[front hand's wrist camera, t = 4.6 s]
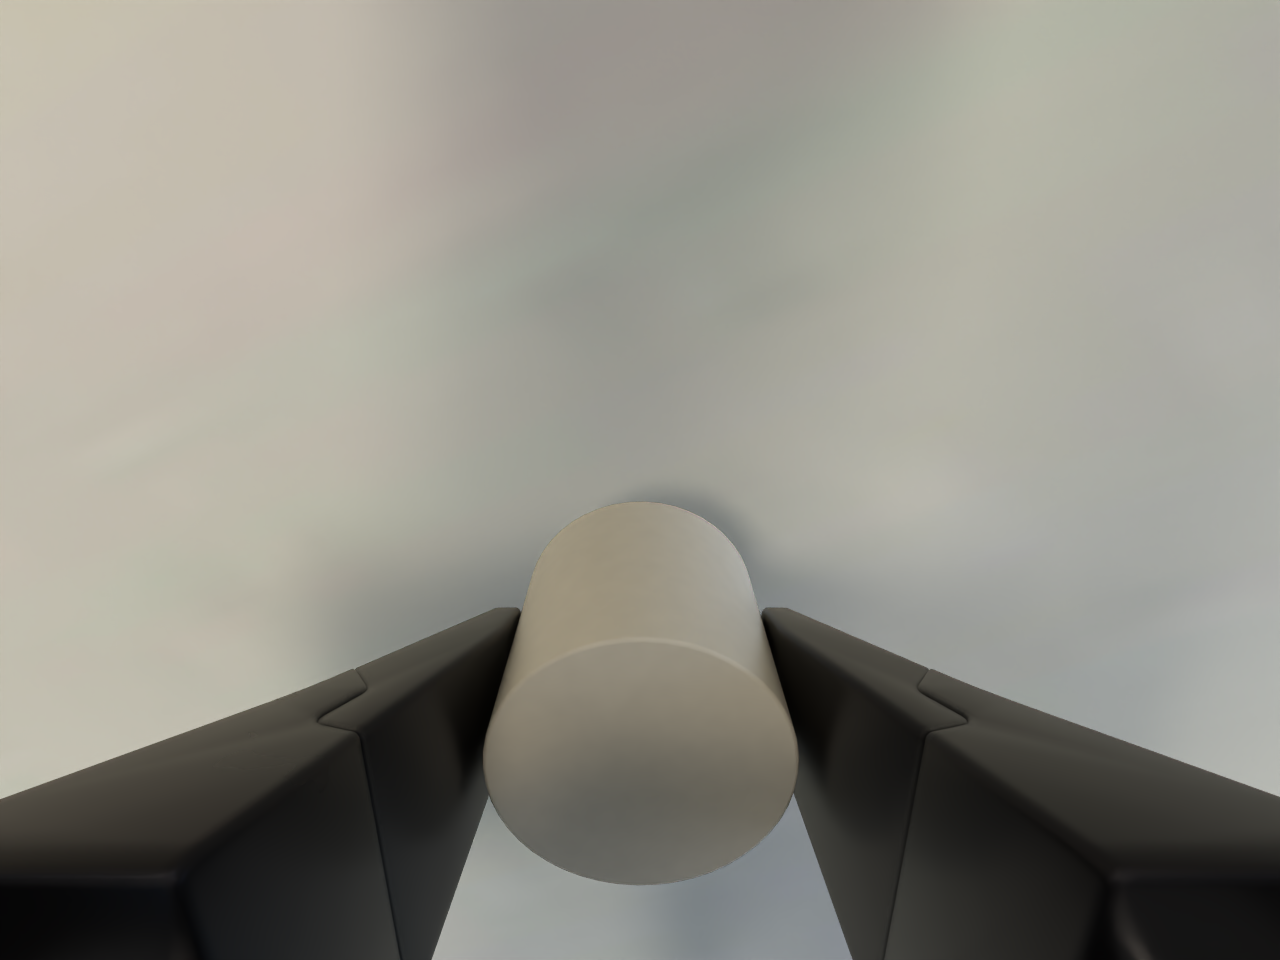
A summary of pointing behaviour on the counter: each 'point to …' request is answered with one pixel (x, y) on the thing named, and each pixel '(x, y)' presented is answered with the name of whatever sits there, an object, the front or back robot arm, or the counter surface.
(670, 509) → the can
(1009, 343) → the counter surface
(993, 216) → the counter surface
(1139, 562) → the counter surface
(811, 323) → the counter surface
